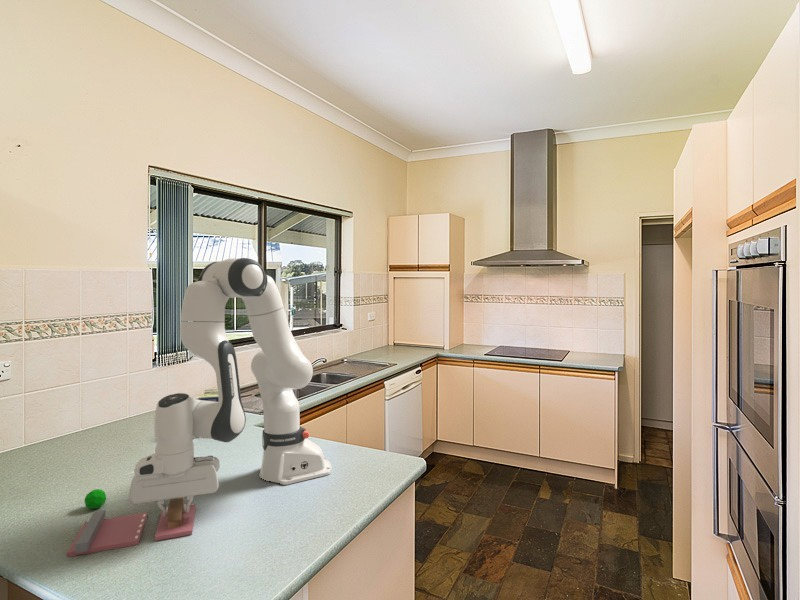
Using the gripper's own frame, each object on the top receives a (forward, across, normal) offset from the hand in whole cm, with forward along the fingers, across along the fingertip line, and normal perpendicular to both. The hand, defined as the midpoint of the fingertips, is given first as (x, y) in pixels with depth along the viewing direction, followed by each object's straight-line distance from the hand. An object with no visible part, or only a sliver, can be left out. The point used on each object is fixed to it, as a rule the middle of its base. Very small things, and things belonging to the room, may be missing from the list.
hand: (176, 513), depth 118 cm
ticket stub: (+2, 0, 0) cm, 2 cm away
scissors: (+3, +12, -44) cm, 46 cm away
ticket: (+2, +14, 0) cm, 15 cm away
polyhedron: (+3, +22, -17) cm, 27 cm away
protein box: (+3, -7, -75) cm, 75 cm away
